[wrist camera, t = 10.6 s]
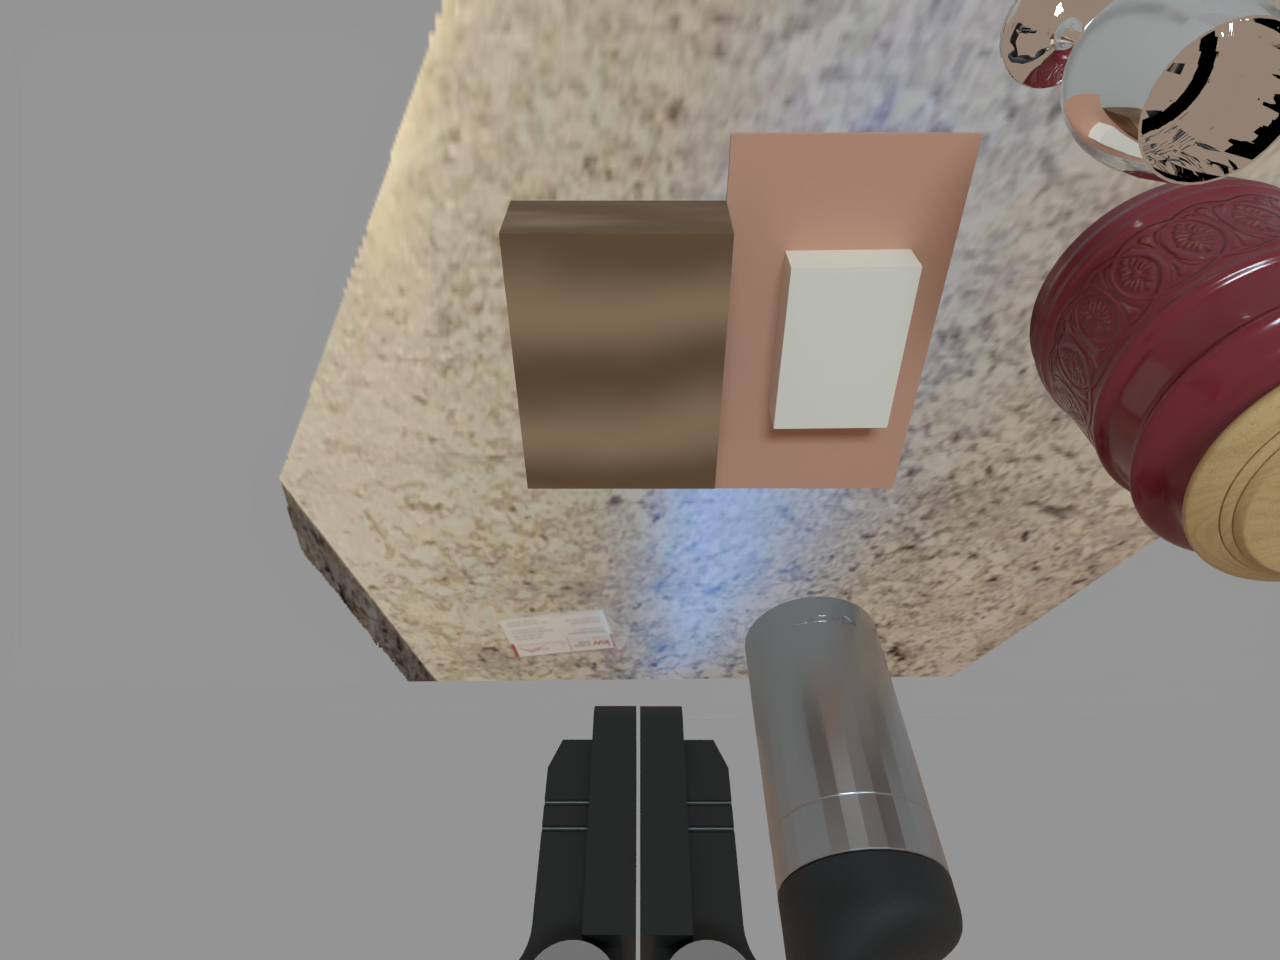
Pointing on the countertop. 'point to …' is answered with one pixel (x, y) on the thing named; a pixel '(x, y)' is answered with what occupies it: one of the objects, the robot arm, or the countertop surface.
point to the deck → (618, 339)
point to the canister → (1178, 362)
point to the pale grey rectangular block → (841, 336)
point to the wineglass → (1155, 80)
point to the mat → (830, 220)
